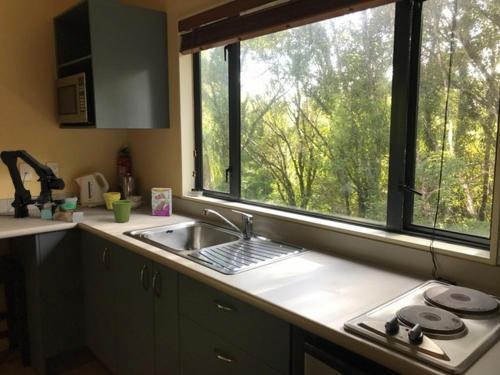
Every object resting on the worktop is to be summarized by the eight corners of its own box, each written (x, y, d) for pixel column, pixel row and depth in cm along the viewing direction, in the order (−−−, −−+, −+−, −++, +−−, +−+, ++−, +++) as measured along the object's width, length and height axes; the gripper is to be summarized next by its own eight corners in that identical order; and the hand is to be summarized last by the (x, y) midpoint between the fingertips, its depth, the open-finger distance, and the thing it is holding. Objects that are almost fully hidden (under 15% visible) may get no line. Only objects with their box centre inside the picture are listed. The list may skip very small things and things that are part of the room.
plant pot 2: (125, 224, 230) (124, 204, 228) (106, 222, 234) (106, 202, 232) (137, 220, 241) (137, 200, 240) (119, 218, 245) (119, 199, 243)
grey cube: (73, 223, 233) (72, 214, 232) (74, 221, 237) (73, 212, 237) (82, 222, 234) (82, 213, 233) (83, 220, 239) (83, 212, 238)
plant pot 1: (104, 210, 270) (103, 195, 269) (104, 207, 280) (103, 192, 278) (121, 209, 273) (120, 194, 272) (120, 206, 283) (119, 192, 282)
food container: (63, 216, 250) (62, 199, 249) (57, 215, 254) (56, 198, 253) (82, 213, 260) (81, 197, 259) (76, 212, 264) (75, 196, 262)
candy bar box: (151, 216, 253) (150, 188, 251) (154, 214, 258) (153, 187, 256) (169, 216, 252) (169, 189, 250) (172, 214, 257) (171, 188, 255)
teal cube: (41, 218, 242) (41, 210, 242) (45, 217, 247) (45, 208, 247) (50, 218, 242) (49, 210, 242) (54, 217, 247) (53, 208, 247)
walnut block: (53, 221, 238) (53, 214, 237) (59, 218, 245) (59, 211, 244) (65, 221, 238) (65, 214, 237) (71, 218, 245) (71, 212, 244)
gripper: (22, 191, 234) (24, 219, 236) (56, 191, 235) (58, 219, 237) (32, 188, 245) (33, 215, 247) (65, 188, 246) (66, 215, 248)
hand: (47, 216), depth 245 cm, fingers closed on teal cube, 5 cm apart
